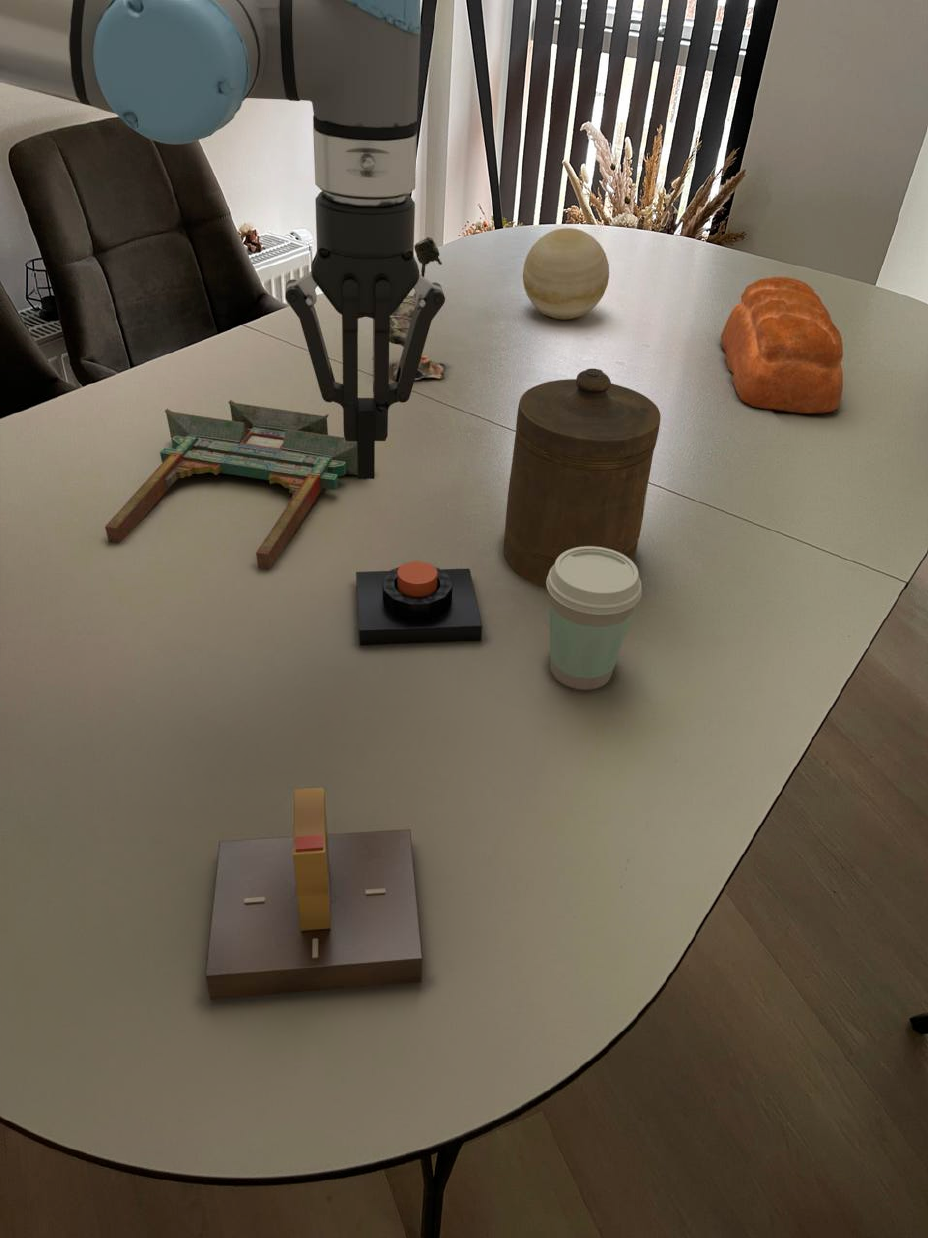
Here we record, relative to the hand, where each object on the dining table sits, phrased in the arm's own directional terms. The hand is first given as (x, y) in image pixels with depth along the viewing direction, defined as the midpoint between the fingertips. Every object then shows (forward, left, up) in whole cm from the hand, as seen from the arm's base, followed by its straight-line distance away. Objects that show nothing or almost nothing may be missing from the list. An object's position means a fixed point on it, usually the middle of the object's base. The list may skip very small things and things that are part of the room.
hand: (365, 471), depth 86 cm
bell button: (+5, +1, -14) cm, 15 cm away
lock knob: (-5, -35, -14) cm, 38 cm away
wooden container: (+23, +11, -17) cm, 31 cm away
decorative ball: (+38, +88, -17) cm, 97 cm away
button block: (+5, +1, -17) cm, 18 cm away
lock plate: (-5, -35, -17) cm, 39 cm away
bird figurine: (+9, +63, -17) cm, 66 cm away
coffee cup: (+20, -9, -17) cm, 28 cm away
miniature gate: (-14, +27, -17) cm, 35 cm away
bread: (+68, +62, -17) cm, 94 cm away
